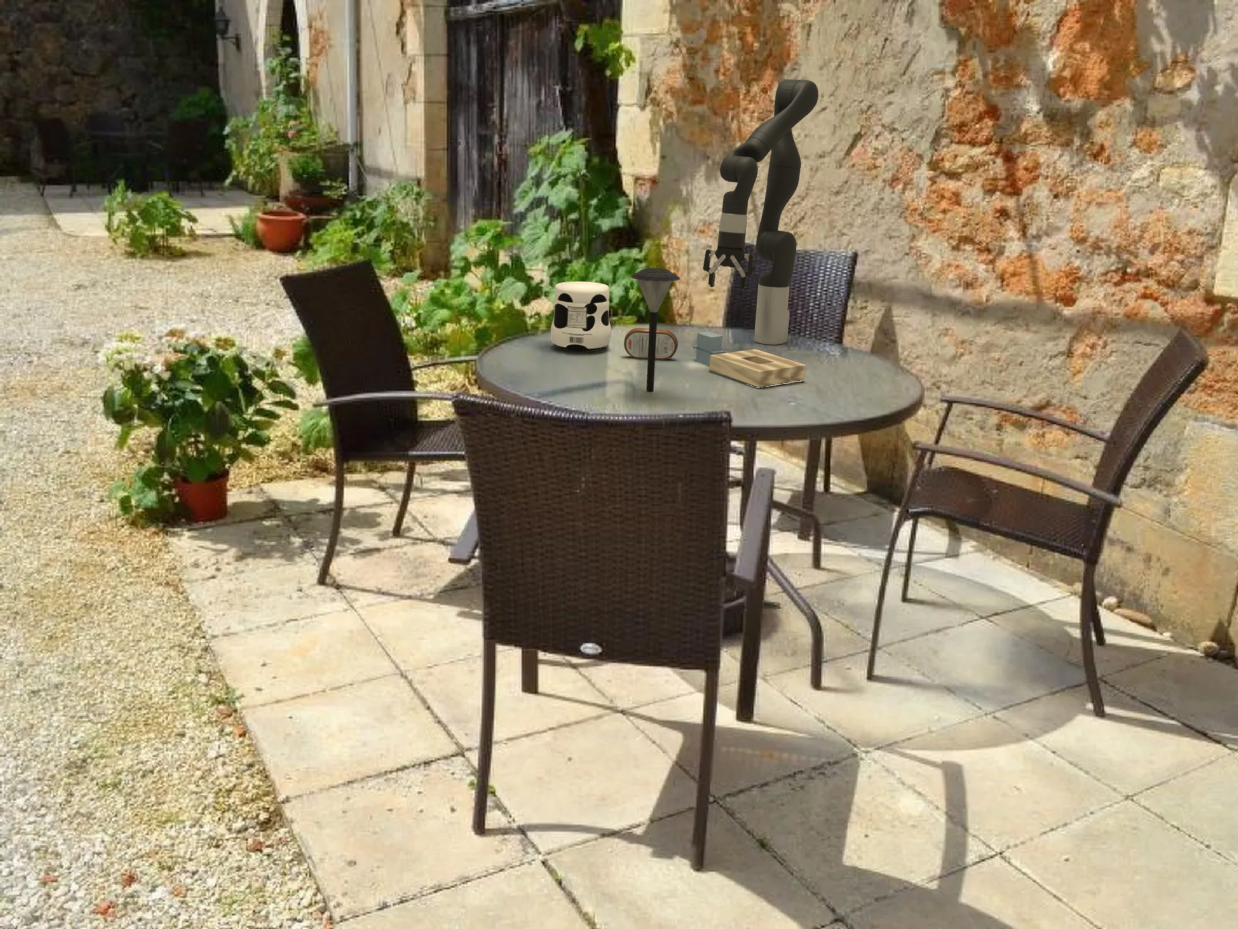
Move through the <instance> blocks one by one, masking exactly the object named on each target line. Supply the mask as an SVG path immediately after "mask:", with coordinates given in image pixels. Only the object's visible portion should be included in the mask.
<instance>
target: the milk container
mask: <svg viewBox="0 0 1238 929" xmlns="http://www.w3.org/2000/svg"><path fill="white" fill-rule="evenodd" d="M553 301H554V302H553V304H554V307H553V308H554V309H553V310H554V315H553V320H552V322H551V326H550V336H551V341H552V344H553V345H554V346H555V347H557V348H559V349H561V350H566V351H571V352H582V353H583V352H585V353H586V352H594V351H601V350H602V349H606V347H609V345H610V343H611V338H612V326H611V323H610V316H609V314H610V312H609V311H610V288H609V285H607V284H605V283H600V282H594V281H579V280H578V281H563V282H559V283H557V284H555V289H554V300H553Z"/></svg>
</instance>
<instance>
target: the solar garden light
mask: <svg viewBox="0 0 1238 929" xmlns="http://www.w3.org/2000/svg"><path fill="white" fill-rule="evenodd" d="M629 278H631V279H633V280H637V282H638V285H639V287H640V290H641V293H642V296H643V297H644V300H645V302H646V305H647V307H648V310H649V321H648V322H649V324H648V326H649V327H648V329H649V344H648V359H647V367H646V368H647V371H646V392H649V393H651V392H652V393H653V392H654V390H655V389H654V388H655V373H656V372H655V369H656V360H655V353H656V332H657V329H658V327H657V326H658V312H659V310H660V308H661V305H662V303H663V302H664V299H665V298H666V295H667V293H668V291H669V289H670V288H671V284H672V283H673V282H677V281H680V280H681V277H679V276H678V275H677V274H675V273H673V272H672V271H670V270H669V269H665V268H659V267H647V268H643V269H640V270H638V271H637V272H634V273H633V274H631V275H630V277H629Z"/></svg>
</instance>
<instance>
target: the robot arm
mask: <svg viewBox="0 0 1238 929" xmlns="http://www.w3.org/2000/svg"><path fill="white" fill-rule="evenodd" d="M818 101H819V89H818V86H817V84H816V83H815V82H814V81H812V80H809V79H792V78H791V79H789V78H787V79H783V80H781V81H780V82H779V84H778V85H777V87H776V91H775V97H774V107H773V109H774V110H773V116H772V117H770V118H768V119H767V120H766V121H764V122H763V123H761V124H760V125H759V126H757V127H756V128H755V129H754V130H753V132H752V133H751V134H750V135H749V136H748V138H747V139H746V140H745V141H744V142H743V143H741V144H740V145H738V146H737V147H736V148H734V149H733V150H731V151H730V152H729V153H727V155H726V156H725V157H724V158H723V159H722V161H721V163H720V166H719V173H720V175H719V176H721V177H720V178H722V180H724V181H725V182H728V183H735V184H736V186H735V188H734V190H730V191H727V192H724V194H723V196H722V197H723V199H722V206H721V215H720V220H719V225H718V238H717V247H716V250H715V249H714V250H713V249H711V248H708V249H706V250H705V253H704V260H703V266H702V270H703V271H705V272H707V273H708V281H707V282H708V286H709V287H710V288H714V287H715V283H716V271H717V270H718V269H719V268H720V267H722V268H723V267H724V268H726V267H727V268H732V269H734V268H736V270H737V271H738V272H739V273H738V274H740V276H741V277H740V278H739V288H738V289H739V290H738V291H742V292H743V291H744V289H746V287H747V280H748V277H750V276H753V275H754V274H755V262H756V259H755V258H756V255H757V257H758V258H759V259H760V260H761V261H767V262H772V265H771V269H770V270H769V271H767V272H764V273H761V274H760V275H759V277H758V286H757V287H758V288H757V296H756V298H757V299H756V312H755V326H754V336H753V341H754V342H756V343H758V344H764V345H782V344H783V345H784V344H785V343H787V342H788V335H789V334H788V333H789V323H790V310H788V309H789V307H788V306H789V297H790V296H789V294H790V287H791V286H790V284H791V280H792V277H793V274H794V268H795V261H796V254H797V240H796V237H795V235H794V234H793V233H792V232H790V231H784V230H779V227H780V226H779V225H780V219H781V216H782V213H783V211H784V209H785V207H786V206H787V205H788V203H789V202H790V200H791V199H792V197H793V196H794V194H795V193H796V192H797V189H798V186H799V183H800V178H801V176H800V175H801V168H802V159H801V154H800V152H799V150H798V147H797V144H796V142H795V139H794V135H793V128H794V127H795V126H797V124H799V123H800V122H801V121H802V120H803V119H804V118H806V117H807V116H809V114H810V113H811V112H812V111H813V110H814V109H815V107H816V106H817V104H818ZM769 153H770V157H769V164H768V170H767V179H766V186H765V187H766V189H765V196H764V201H763V206H762V213H761V216H760V217H761V218H760V221H759V226H758V230H757V235H756V241H755V252H756V255H755V253H745V244H746V234H747V227H748V226H747V224H748V220H747V219H748V209H749V208H748V207H749V206H748V205H749V199H750V197H751V194H752V192H753V189H754V185H755V183H756V181H757V177H758V172H759V167H758V164H757V163H760V162H762V161H763V160H764V159H765V158H766V157H767V156H768V154H769ZM714 255H715V257H716V259H717V260H716V262H715V263H714V264H713V265H712V267H710V266H711V259H712V258H713V257H714ZM744 259H745V261H746V262H748V264H747V271H746V269H745V266H744V265H743V263H742V261H744Z"/></svg>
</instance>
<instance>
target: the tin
mask: <svg viewBox="0 0 1238 929" xmlns="http://www.w3.org/2000/svg"><path fill="white" fill-rule="evenodd" d="M623 340H624V342H623V347H624V350H625V352H626V353H627V354H628V355H629V356H630V357H631V358H634V359H641V360H648V344H649V327H647V328H645V327H635V328H632V329H630V330H629V331H628V332H627V333H626V334H625V336H624V339H623ZM678 348H679V342H678V338H677V337H676V334H674V333H673V332H671V330H668V329H662V328H660V329H659V328H657V332H656V353H655V361H666V360H670V359H672V358H673V356H674V355H676V353H677V350H678Z"/></svg>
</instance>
